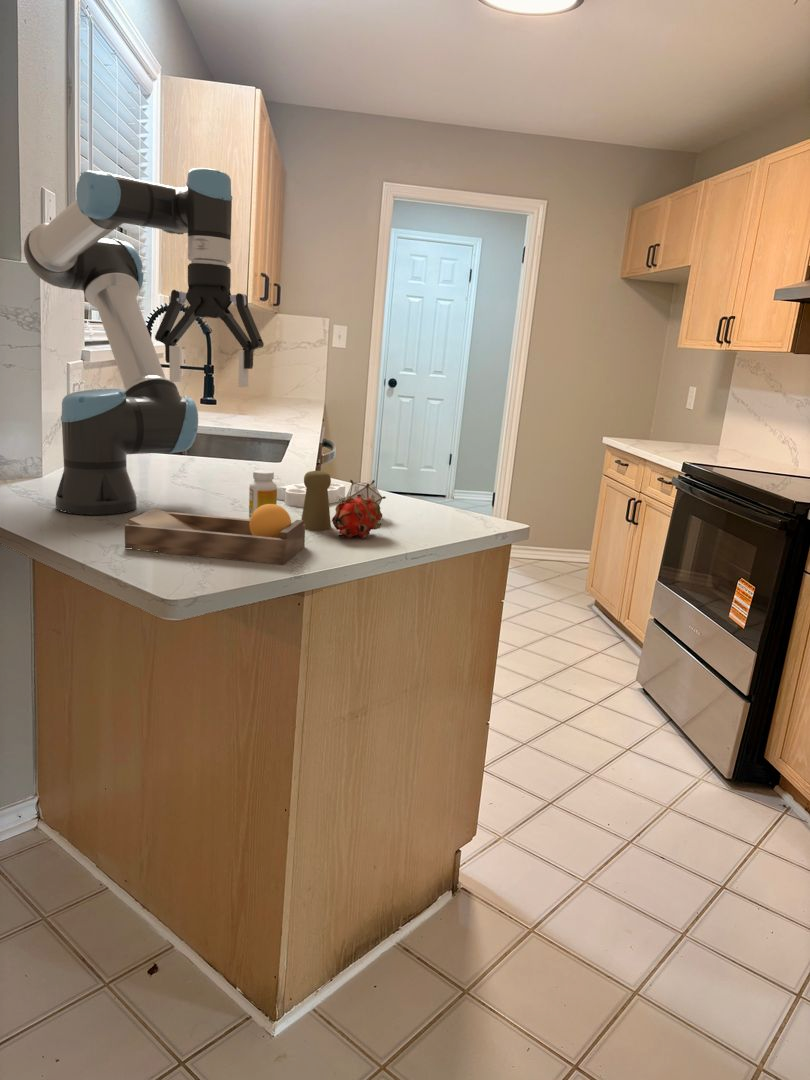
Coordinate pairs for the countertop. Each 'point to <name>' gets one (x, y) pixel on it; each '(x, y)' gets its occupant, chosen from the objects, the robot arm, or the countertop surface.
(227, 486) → the countertop surface
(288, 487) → the white scalloped tray
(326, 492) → the cork
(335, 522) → the dragon fruit
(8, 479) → the countertop surface
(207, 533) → the wooden tray
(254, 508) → the supplement bottle
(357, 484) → the geometric wire polyhedron
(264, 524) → the rubber ball
